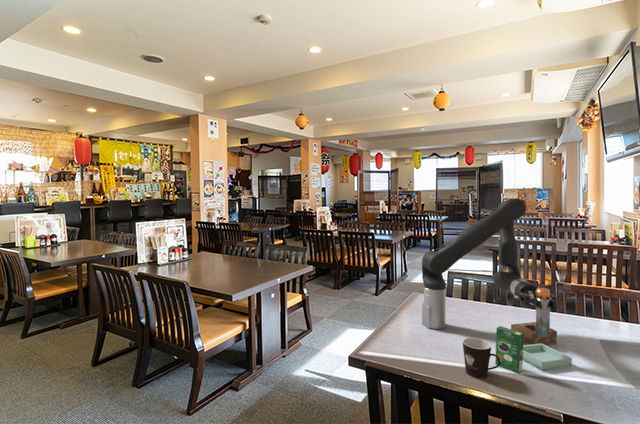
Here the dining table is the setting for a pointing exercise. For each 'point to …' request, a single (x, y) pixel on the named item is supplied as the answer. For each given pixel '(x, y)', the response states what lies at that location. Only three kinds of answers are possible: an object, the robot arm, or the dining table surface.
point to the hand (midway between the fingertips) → (547, 304)
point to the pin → (543, 312)
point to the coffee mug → (477, 357)
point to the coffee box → (509, 349)
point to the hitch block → (534, 334)
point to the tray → (545, 357)
